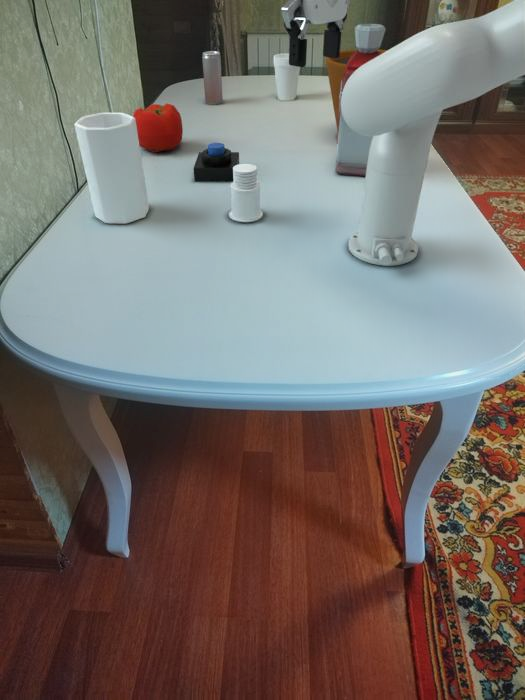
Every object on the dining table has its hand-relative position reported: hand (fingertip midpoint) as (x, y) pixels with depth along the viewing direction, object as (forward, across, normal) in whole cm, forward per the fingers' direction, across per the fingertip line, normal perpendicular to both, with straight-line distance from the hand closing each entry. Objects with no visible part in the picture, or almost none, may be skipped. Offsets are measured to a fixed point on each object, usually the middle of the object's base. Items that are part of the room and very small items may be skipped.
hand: (314, 61), depth 87 cm
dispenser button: (+24, +5, +31) cm, 39 cm away
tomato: (+29, +8, +55) cm, 63 cm away
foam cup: (+29, +71, +62) cm, 99 cm away
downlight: (+28, -8, +9) cm, 31 cm away
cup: (+29, -24, +30) cm, 48 cm away
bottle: (+28, +31, +8) cm, 43 cm away
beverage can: (+29, +50, +78) cm, 97 cm away
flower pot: (+29, +52, +19) cm, 62 cm away
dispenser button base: (+28, +5, +31) cm, 42 cm away
